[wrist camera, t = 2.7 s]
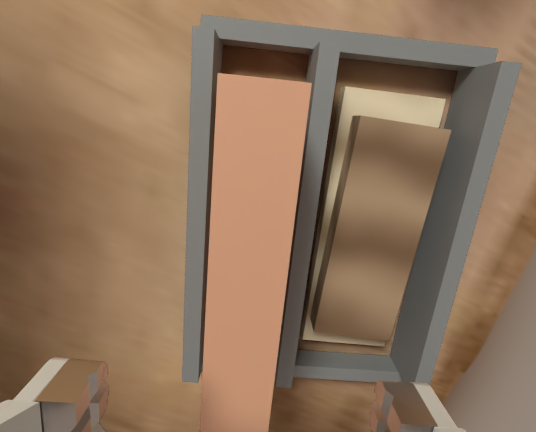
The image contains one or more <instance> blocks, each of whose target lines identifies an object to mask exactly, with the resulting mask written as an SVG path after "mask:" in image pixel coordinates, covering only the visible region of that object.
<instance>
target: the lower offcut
mask: <svg viewBox="0 0 536 432" xmlns="http://www.w3.org/2000/svg"><path fill="white" fill-rule="evenodd" d="M445 101H446V99H441V98H433V97H425V96H417V95H409V94H402V93H394V92H386V91H378V90H370V89H362V88H354V87H346V86H345V87H342V88H341V89H340V96H339V102H338V108H337V114H336V120H335V126H334V132H333V138H332V144H331V150H330V156H329V162H328V168H327V174H326V180H325V186H324V192H323V198H322V204H321V210H320V216H319V222H318V228H317V234H316V241H315V247H314V253H313V259H312V265H311V271H310V277H309V283H308V289H307V295H306V301H305V307H304V313H303V319H302V325H301V333H302V339H303V340H314V341H326V342H338V343H350V344H361V345H373V346H384V345H385V341H386V340H378V339H370V338H361V337H353V336H344V335H336V334H327V333H319V332H314V331H313V327H312V323H311V319H310V314H311V310H312V305H313V300H314V295H315V291H316V286H317V281H318V277H319V272H320V267H321V262H322V258H323V253H324V248H325V243H326V239H327V234H328V229H329V225H330V220H331V215H332V210H333V206H334V201H335V196H336V192H337V187H338V182H339V177H340V173H341V168H342V163H343V159H344V154H345V149H346V144H347V140H348V135H349V130H350V125H351V121H352V116H358V115H361V116H367V117H374V118H380V119H386V120H392V121H399V122H405V123H411V124H418V125H424V126H430V127H436V128H439V125H440V121H441V117H442V113H443V109H444V105H445Z"/></svg>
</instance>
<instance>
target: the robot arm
mask: <svg viewBox="0 0 536 432" xmlns="http://www.w3.org/2000/svg"><path fill="white" fill-rule="evenodd" d="M107 374H108V364H107V363H106V362H104V361H93V360H82V359H68V358H57V357H54V358H52V359H49V360H48V361H47V362H46V364H45V365H44V366H43V367H42V368H41V369H40V370H39V371H38V372H37V374H36V375H35V376H34V377H33V378H32V379H31V380H30V381H29V382H28V384H27V385H26V386H25V387H24V388H23V389H22V390H21V391H20V392H19V394H18V395H17V396H16V397H15V398H14V399H13V400H6V401H4V402H2V403H0V432H91V427H93V426H94V425H95V424H97V423H98V422H99V421H100V419H101V418H102V416H103V414H104V411H105V408H106V405H107V402H108V395H109V386H108V385H107V383H106V382H105V381H104V379H105V378H106V376H107ZM374 392H375V395H376V397H377V398H376V399H375V400H374V401H373V402H372V403H371V407H370V426H371V431H372V432H467V431H465V430H464V429H460V428H457V427H456V425H455V423H454V422H453V420H452V419H451V417H450V416H449V414H448V412H447V411H446V409H445V408H444V406H443V405H442V403H441V402H440V400H439V399H438V397H437V396H436V394H435V392H434V391H433V389H432V388H431V386H430V385H429V384H427V383H419V382H410V383H409V382H395V381H377V383H376V385H375V389H374Z"/></svg>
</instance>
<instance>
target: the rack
mask: <svg viewBox="0 0 536 432" xmlns="http://www.w3.org/2000/svg"><path fill="white" fill-rule="evenodd" d="M223 45H229V46H238V47H247V48H256V49H265V50H274V51H283V52H292V53H301V54H309V58H308V66H307V75H306V82H307V83H312V85H311V93H310V101H309V109H308V117H307V125H306V133H305V141H304V149H303V157H302V165H301V173H300V181H299V189H298V197H297V205H296V213H295V221H294V229H293V237H292V245H291V253H290V261H289V269H288V277H287V285H286V293H285V301H284V309H283V317H282V325H281V333H280V341H279V349H278V357H277V365H276V373H275V381H276V387H277V388H292V381H293V377H298V378H314V379H330V380H346V381H362V382H377V381H395V382H409V383H410V382H419V383H427V384H429V385H430V382H431V378H432V375H433V371H434V368H435V364H436V361H437V357H438V354H439V350H440V347H441V343H442V340H443V336H444V333H445V330H446V326H447V323H448V319H449V316H450V312H451V309H452V305H453V302H454V298H455V295H456V291H457V288H458V284H459V281H460V277H461V274H462V270H463V267H464V263H465V260H466V256H467V253H468V249H469V246H470V243H471V239H472V236H473V232H474V229H475V225H476V222H477V218H478V215H479V211H480V208H481V204H482V201H483V197H484V194H485V190H486V187H487V183H488V180H489V176H490V173H491V169H492V166H493V162H494V159H495V156H496V152H497V149H498V145H499V142H500V138H501V135H502V131H503V128H504V124H505V121H506V117H507V114H508V110H509V107H510V103H511V100H512V96H513V93H514V89H515V86H516V82H517V79H518V75H519V72H520V68H521V65H522V63H515V62H506V61H500V62H496V63H495V60H496V56H497V53H498V49H496V48H487V47H479V46H470V45H461V44H453V43H444V42H435V41H427V40H418V39H409V38H401V37H392V36H383V35H375V34H366V33H357V32H349V31H340V30H331V29H323V28H314V27H306V26H297V25H288V24H280V23H271V22H262V21H254V20H245V19H236V18H228V17H219V16H210V15H202V14H201V27H198V26H193V29H192V63H191V96H190V130H189V164H188V197H187V231H186V265H185V298H184V332H183V366H182V382H194V383H198V381H199V377H200V372H201V371H202V372H203V353H204V333H205V313H206V293H207V274H208V254H209V234H210V214H211V194H212V174H213V155H214V135H215V115H216V95H217V75H218V73H222V55H223ZM339 58H346V59H355V60H363V61H372V62H381V63H390V64H399V65H408V66H417V67H426V68H435V69H444V70H453V71H458V72H457V76H456V81H455V85H454V89H453V93H452V97H451V102H450V106H449V110H448V114H447V118H446V123H445V127H444V129H449V130H451V134H450V137H449V140H448V144H447V147H446V151H445V154H444V157H443V161H442V164H441V168H440V171H439V174H438V178H437V181H436V185H435V188H434V191H433V195H432V198H431V202H430V205H429V208H428V212H427V215H426V219H425V222H424V225H423V229H422V232H421V236H420V239H419V243H418V246H417V249H416V253H415V256H414V260H413V263H412V266H411V270H410V273H409V278H408V282H407V286H406V290H405V294H404V299H403V303H402V307H401V311H400V315H399V319H398V324H397V328H396V332H395V336H394V340H393V345H392V349H391V353H390V356H383V355H368V354H353V353H338V352H323V351H308V350H297V347H298V340H299V333H300V326H301V319H302V312H303V305H304V298H305V291H306V284H307V277H308V271H309V264H310V257H311V250H312V243H313V236H314V229H315V222H316V215H317V208H318V201H319V194H320V187H321V180H322V173H323V166H324V160H325V153H326V146H327V139H328V132H329V125H330V118H331V111H332V104H333V97H334V90H335V83H336V76H337V69H338V62H339Z"/></svg>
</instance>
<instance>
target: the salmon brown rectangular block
mask: <svg viewBox="0 0 536 432" xmlns="http://www.w3.org/2000/svg"><path fill="white" fill-rule="evenodd" d="M311 85H312V83H307V82H298V81H289V80H279V79H270V78H261V77H251V76H242V75H233V74H223V73H218V75H217V95H216V115H215V135H214V155H213V174H212V194H211V214H210V234H209V254H208V274H207V293H206V313H205V333H204V353H203V373H202V393H201V412H200V432H268V428H269V420H270V412H271V404H272V396H273V388H274V380H275V373H276V365H277V357H278V349H279V341H280V333H281V325H282V317H283V309H284V301H285V293H286V285H287V277H288V269H289V261H290V253H291V245H292V237H293V229H294V221H295V213H296V205H297V197H298V189H299V181H300V173H301V165H302V157H303V149H304V141H305V133H306V125H307V117H308V109H309V101H310V93H311Z"/></svg>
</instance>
